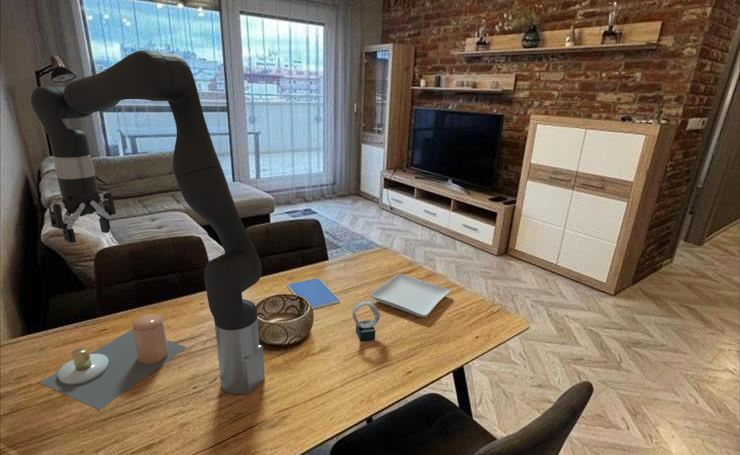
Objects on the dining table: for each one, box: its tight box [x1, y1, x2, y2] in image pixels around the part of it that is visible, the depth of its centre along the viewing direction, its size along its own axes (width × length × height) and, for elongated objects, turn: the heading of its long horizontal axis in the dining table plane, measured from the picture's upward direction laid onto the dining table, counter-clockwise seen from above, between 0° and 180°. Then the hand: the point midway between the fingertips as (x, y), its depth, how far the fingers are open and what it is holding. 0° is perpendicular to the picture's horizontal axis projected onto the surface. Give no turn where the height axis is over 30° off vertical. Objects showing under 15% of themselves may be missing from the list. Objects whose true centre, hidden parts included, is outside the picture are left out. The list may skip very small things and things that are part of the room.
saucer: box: [57, 353, 109, 385], centre depth 95 cm, size 10×10×1 cm
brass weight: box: [71, 346, 92, 371], centre depth 95 cm, size 3×3×4 cm
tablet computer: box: [286, 277, 341, 310], centre depth 137 cm, size 19×13×1 cm, turn 30°
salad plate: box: [369, 273, 451, 318], centre depth 135 cm, size 21×21×3 cm
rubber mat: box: [39, 328, 188, 411], centre depth 98 cm, size 20×24×1 cm
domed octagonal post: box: [132, 313, 168, 364], centre depth 100 cm, size 7×7×10 cm
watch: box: [352, 299, 381, 343], centre depth 113 cm, size 6×8×11 cm
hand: (89, 237), depth 101 cm, fingers open, 8 cm apart
